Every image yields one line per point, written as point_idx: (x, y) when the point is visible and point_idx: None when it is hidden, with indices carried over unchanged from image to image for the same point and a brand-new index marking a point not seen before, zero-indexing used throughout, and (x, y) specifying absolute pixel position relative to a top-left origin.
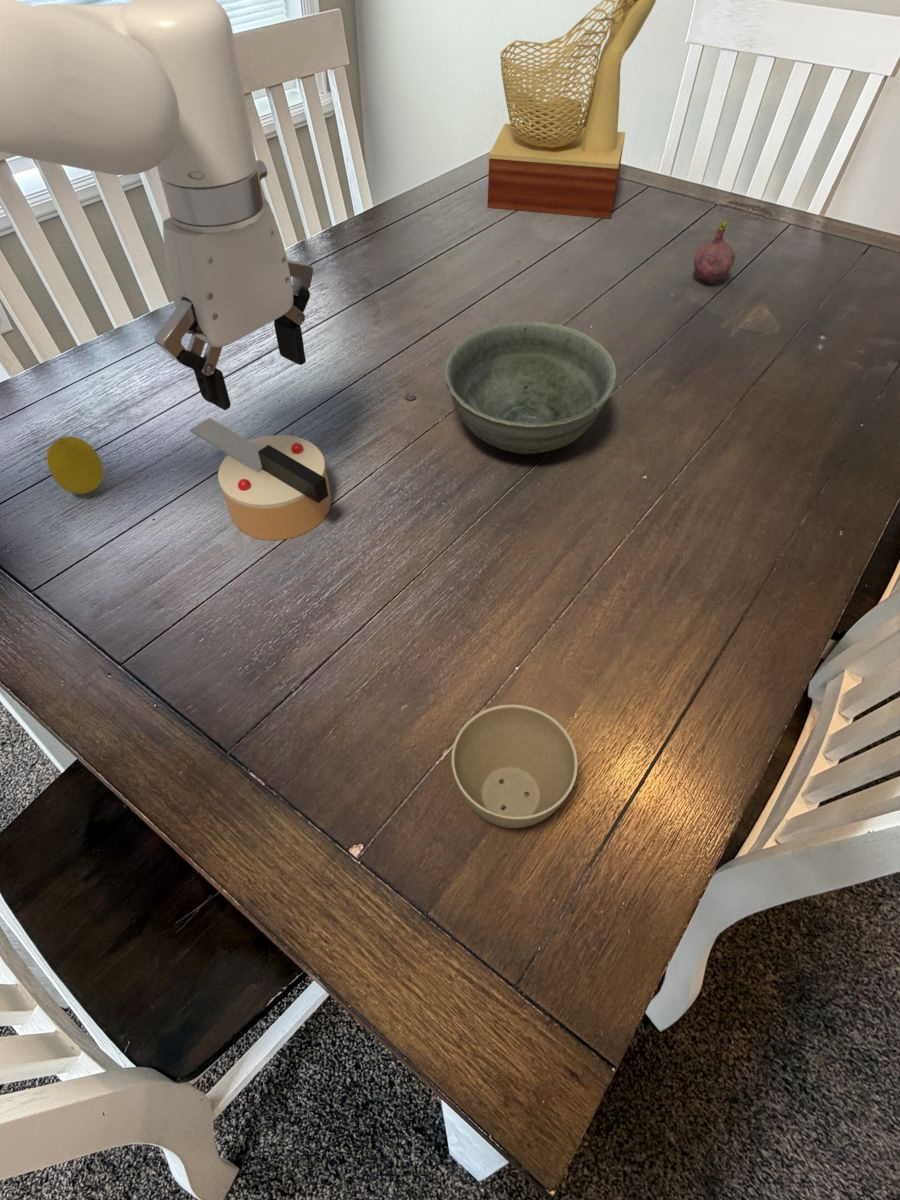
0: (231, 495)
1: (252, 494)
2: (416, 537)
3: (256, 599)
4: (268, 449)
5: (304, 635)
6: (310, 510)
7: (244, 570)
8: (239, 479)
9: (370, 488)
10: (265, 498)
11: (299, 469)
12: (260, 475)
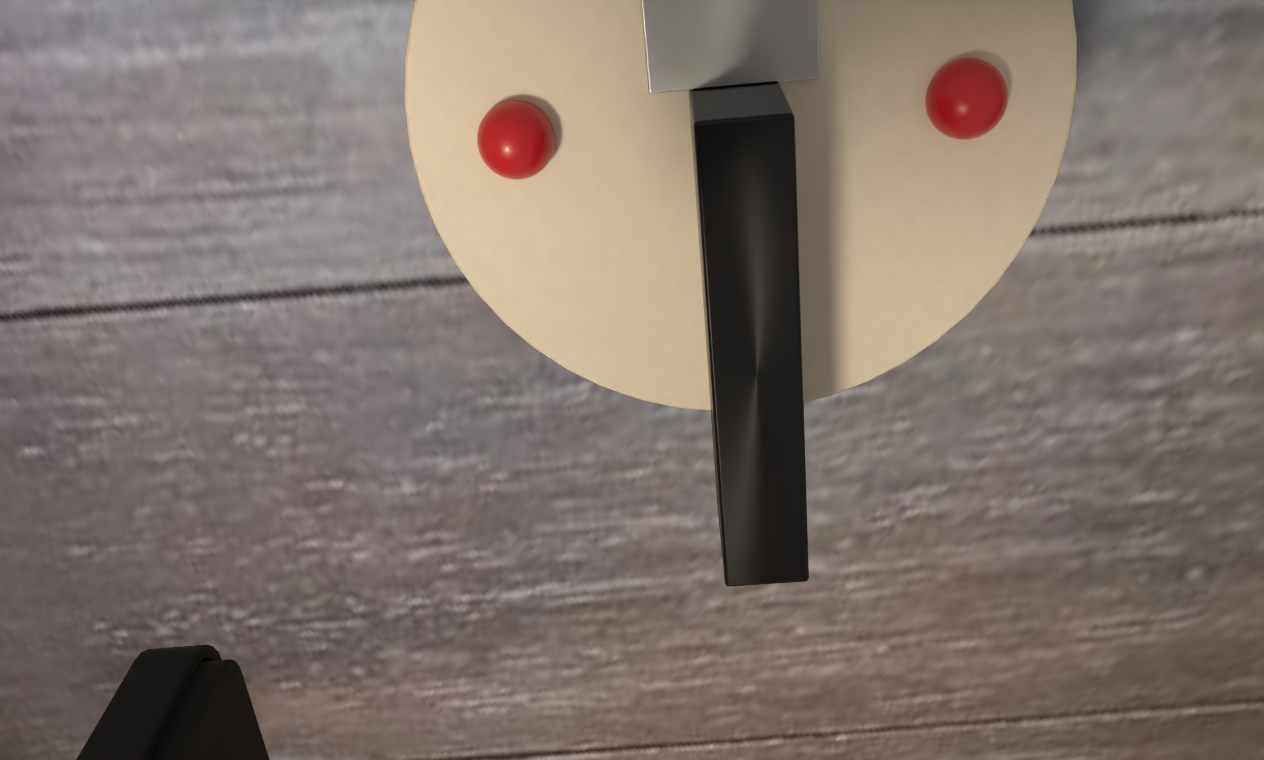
0: (415, 144)
1: (512, 224)
2: (964, 621)
3: (295, 441)
4: (758, 159)
5: (347, 665)
6: None
7: (335, 287)
8: (531, 56)
9: (1094, 292)
10: (548, 300)
11: (759, 443)
12: (646, 121)
